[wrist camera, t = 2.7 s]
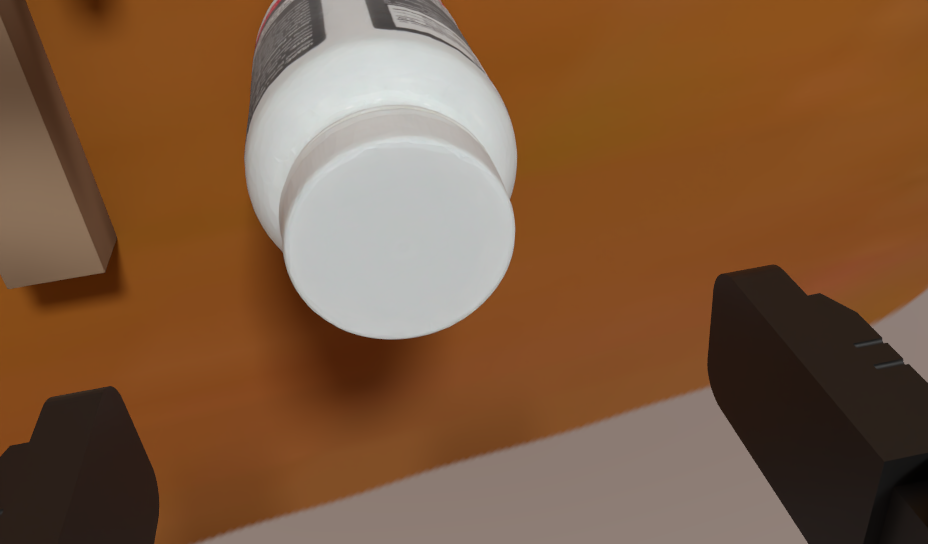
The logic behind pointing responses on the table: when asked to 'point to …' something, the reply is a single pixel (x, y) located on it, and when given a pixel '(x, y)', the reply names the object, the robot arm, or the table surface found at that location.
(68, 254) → the bar
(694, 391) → the table surface
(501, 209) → the pill bottle
